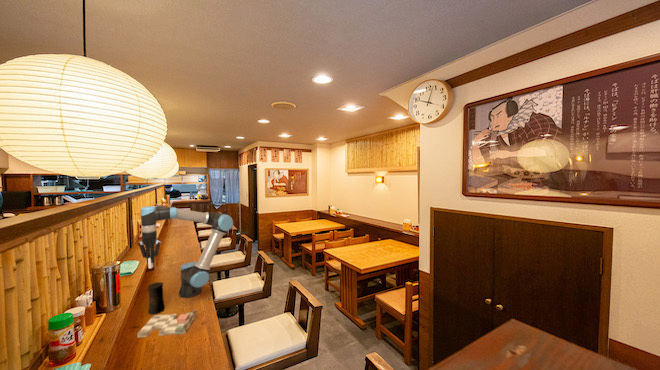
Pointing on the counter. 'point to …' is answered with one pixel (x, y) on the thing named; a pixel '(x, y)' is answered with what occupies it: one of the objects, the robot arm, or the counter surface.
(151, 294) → the container
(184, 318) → the block
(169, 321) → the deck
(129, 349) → the counter surface
